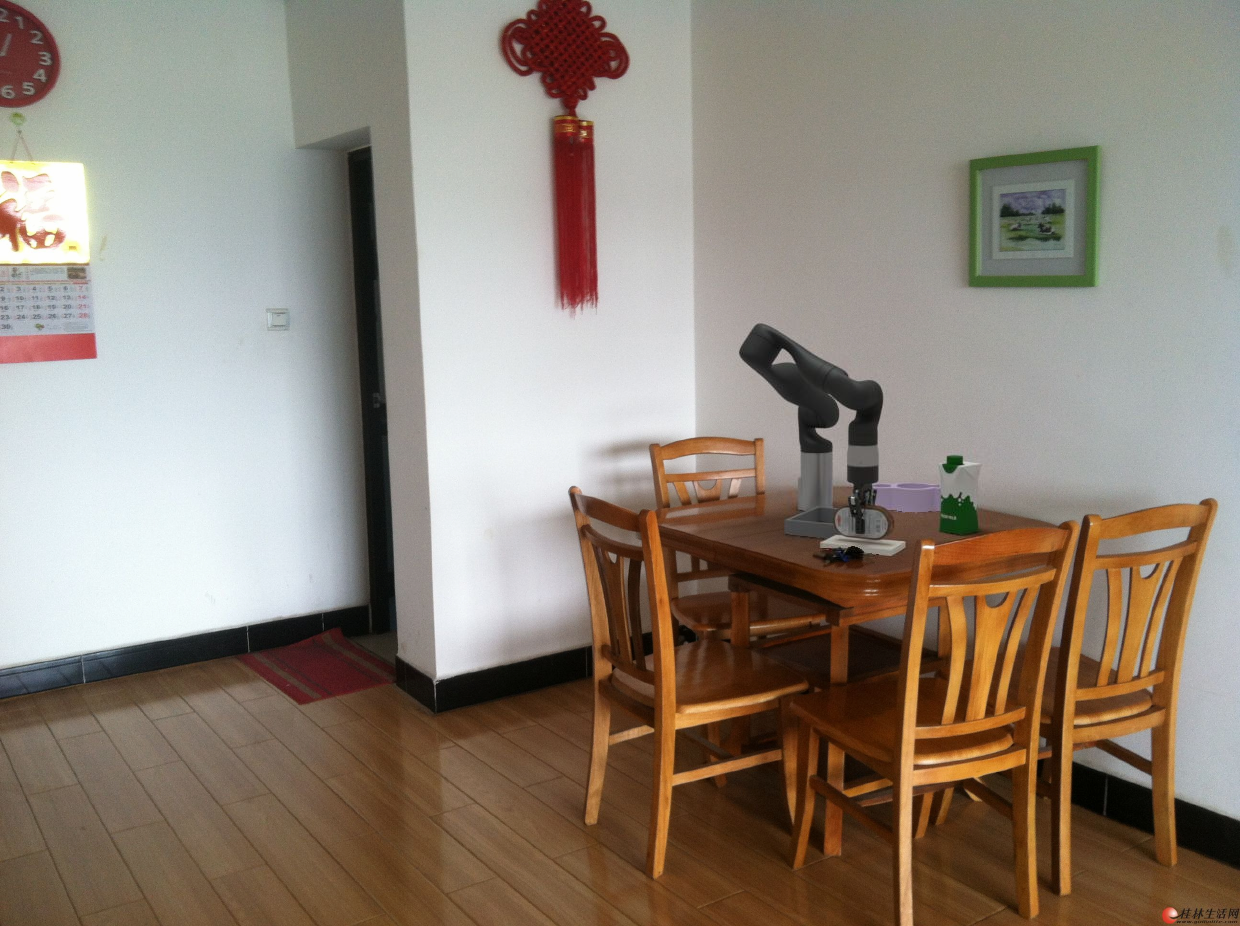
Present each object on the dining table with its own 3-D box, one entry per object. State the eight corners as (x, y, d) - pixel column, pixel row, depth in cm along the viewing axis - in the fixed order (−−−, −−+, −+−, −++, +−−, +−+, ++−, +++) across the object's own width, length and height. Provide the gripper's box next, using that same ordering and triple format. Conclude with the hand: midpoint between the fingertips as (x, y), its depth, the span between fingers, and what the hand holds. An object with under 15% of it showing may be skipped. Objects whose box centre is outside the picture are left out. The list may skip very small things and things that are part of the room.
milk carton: (933, 531, 279) (934, 455, 276) (957, 526, 284) (958, 452, 281) (961, 536, 272) (962, 459, 269) (984, 531, 277) (986, 455, 274)
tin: (894, 540, 259) (895, 506, 258) (889, 542, 256) (890, 507, 255) (836, 534, 267) (836, 501, 266) (831, 536, 265) (831, 502, 264)
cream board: (820, 548, 263) (820, 542, 263) (836, 540, 271) (836, 534, 271) (891, 556, 253) (891, 549, 253) (905, 547, 261) (905, 541, 261)
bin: (784, 534, 280) (784, 519, 279) (817, 520, 297) (817, 506, 297) (838, 540, 272) (838, 525, 271) (868, 525, 289) (869, 510, 288)
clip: (869, 512, 307) (869, 489, 306) (868, 504, 319) (868, 482, 318) (941, 513, 302) (941, 489, 301) (938, 505, 314) (938, 482, 313)
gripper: (867, 467, 252) (866, 539, 254) (887, 459, 263) (887, 528, 266) (837, 466, 256) (837, 536, 258) (858, 458, 267) (858, 525, 270)
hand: (862, 532), depth 262 cm, fingers closed on tin, 2 cm apart
